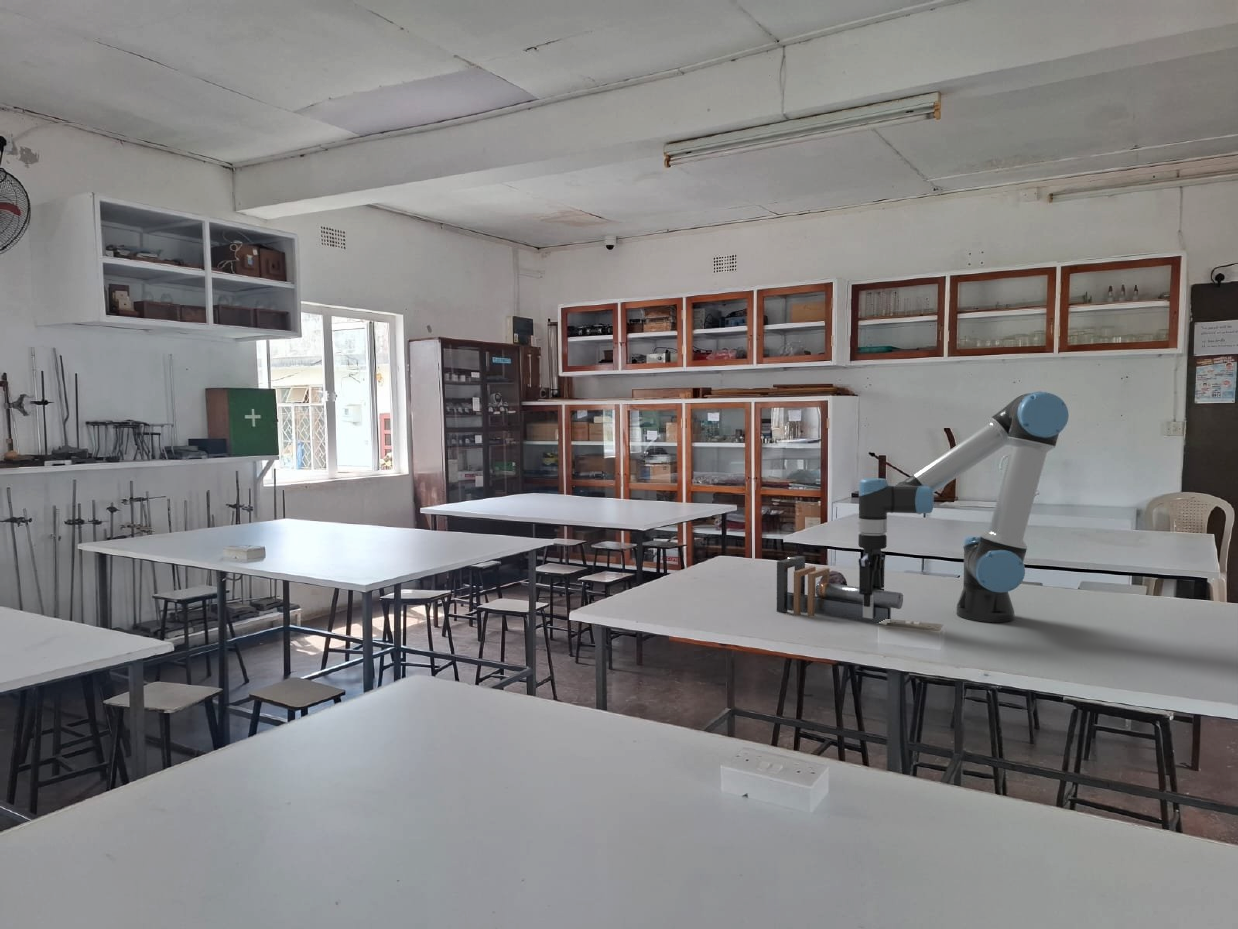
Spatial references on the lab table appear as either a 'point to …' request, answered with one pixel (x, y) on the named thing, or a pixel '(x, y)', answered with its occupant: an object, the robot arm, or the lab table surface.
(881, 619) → the rail cradle
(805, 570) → the collar
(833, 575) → the rock
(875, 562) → the robot arm
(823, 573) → the collar
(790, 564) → the dark grey u-shaped frame
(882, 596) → the tube
